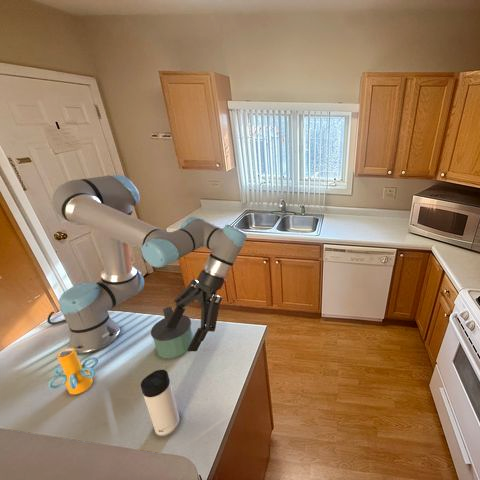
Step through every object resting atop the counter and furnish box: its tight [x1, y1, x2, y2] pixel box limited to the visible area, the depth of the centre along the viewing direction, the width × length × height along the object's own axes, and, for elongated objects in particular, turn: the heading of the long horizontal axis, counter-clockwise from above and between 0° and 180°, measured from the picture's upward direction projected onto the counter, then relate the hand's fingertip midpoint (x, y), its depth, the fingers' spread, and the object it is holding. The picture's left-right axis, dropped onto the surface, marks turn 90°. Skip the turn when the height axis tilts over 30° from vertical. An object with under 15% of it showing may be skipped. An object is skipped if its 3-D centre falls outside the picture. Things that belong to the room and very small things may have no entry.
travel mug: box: [140, 369, 181, 437], centre depth 70 cm, size 6×7×20 cm
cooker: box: [152, 325, 194, 359], centre depth 99 cm, size 12×12×10 cm
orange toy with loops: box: [47, 347, 99, 395], centre depth 80 cm, size 12×10×15 cm
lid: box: [150, 306, 192, 341], centre depth 95 cm, size 13×13×9 cm
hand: (180, 338), depth 75 cm, fingers open, 13 cm apart
